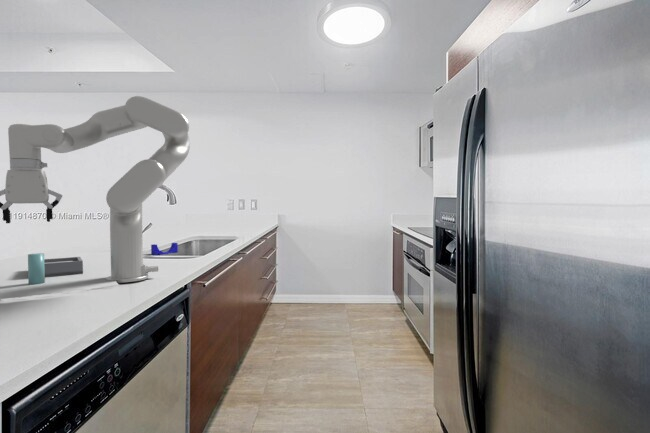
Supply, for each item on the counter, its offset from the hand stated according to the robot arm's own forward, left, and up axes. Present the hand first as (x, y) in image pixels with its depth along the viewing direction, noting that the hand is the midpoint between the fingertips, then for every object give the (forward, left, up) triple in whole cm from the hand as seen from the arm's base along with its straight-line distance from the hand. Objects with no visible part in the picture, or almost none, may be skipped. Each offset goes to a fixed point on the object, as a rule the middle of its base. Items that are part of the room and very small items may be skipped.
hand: (28, 222), depth 113 cm
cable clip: (-51, -50, -19) cm, 74 cm away
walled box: (-7, -21, -19) cm, 29 cm away
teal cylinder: (-1, -1, -19) cm, 19 cm away
